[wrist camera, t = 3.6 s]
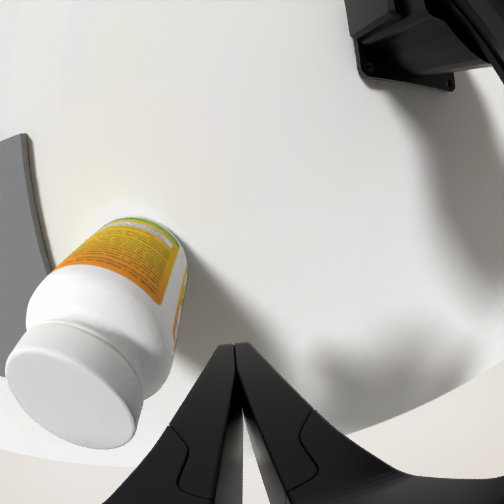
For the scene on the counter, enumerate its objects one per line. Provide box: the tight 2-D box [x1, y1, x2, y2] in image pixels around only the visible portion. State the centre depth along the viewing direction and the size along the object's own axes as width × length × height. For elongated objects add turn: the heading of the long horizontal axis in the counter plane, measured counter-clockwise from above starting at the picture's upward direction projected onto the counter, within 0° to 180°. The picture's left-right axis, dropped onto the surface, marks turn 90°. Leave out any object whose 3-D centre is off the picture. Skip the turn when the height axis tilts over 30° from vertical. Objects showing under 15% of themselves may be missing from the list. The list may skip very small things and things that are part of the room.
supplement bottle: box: [5, 216, 188, 449], centre depth 10 cm, size 5×5×10 cm
